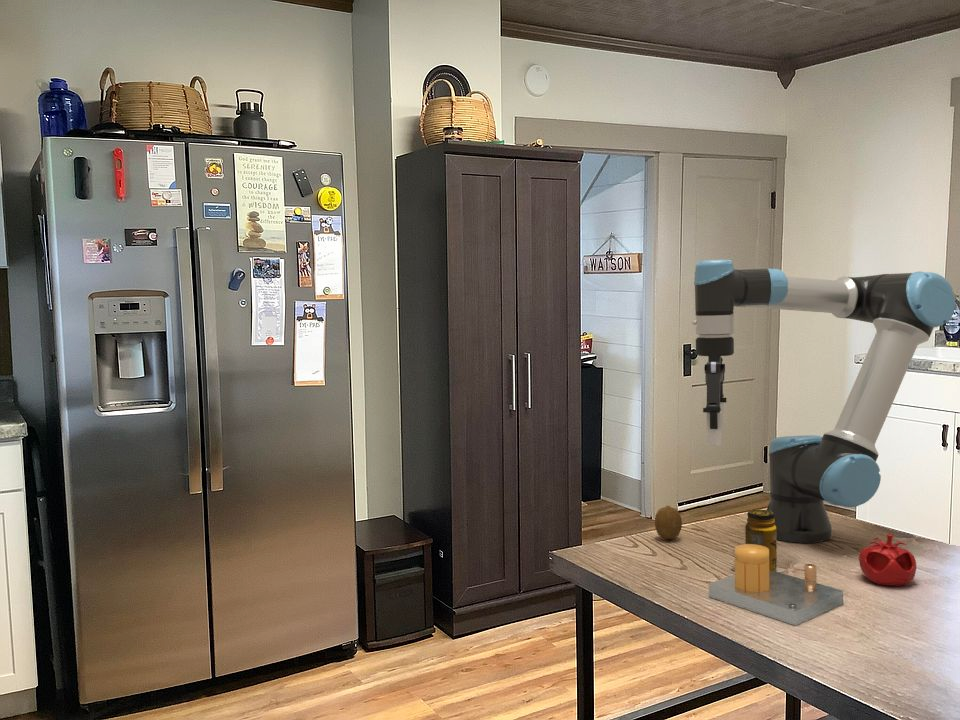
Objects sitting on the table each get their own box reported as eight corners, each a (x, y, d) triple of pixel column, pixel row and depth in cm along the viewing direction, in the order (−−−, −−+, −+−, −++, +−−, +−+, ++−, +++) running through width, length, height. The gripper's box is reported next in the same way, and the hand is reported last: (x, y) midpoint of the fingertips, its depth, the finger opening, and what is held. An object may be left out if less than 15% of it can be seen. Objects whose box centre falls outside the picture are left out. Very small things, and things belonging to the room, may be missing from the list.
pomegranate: (856, 572, 165) (855, 526, 165) (911, 575, 162) (910, 528, 162) (862, 587, 156) (862, 539, 155) (921, 591, 153) (921, 542, 152)
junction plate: (757, 578, 162) (756, 544, 162) (843, 604, 148) (843, 566, 148) (708, 596, 154) (708, 560, 153) (795, 625, 139) (795, 585, 139)
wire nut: (769, 581, 154) (768, 545, 153) (769, 592, 148) (769, 555, 147) (735, 579, 155) (735, 543, 155) (734, 590, 150) (734, 552, 149)
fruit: (684, 543, 187) (684, 509, 186) (657, 543, 187) (656, 509, 187) (679, 535, 193) (679, 502, 193) (652, 535, 193) (652, 502, 193)
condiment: (786, 570, 167) (785, 512, 166) (759, 579, 162) (758, 520, 161) (756, 561, 173) (755, 505, 172) (729, 570, 168) (728, 512, 167)
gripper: (699, 333, 180) (700, 428, 182) (691, 339, 157) (692, 449, 158) (735, 332, 178) (736, 429, 179) (732, 339, 154) (733, 450, 156)
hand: (715, 439), depth 169 cm, fingers open, 13 cm apart
